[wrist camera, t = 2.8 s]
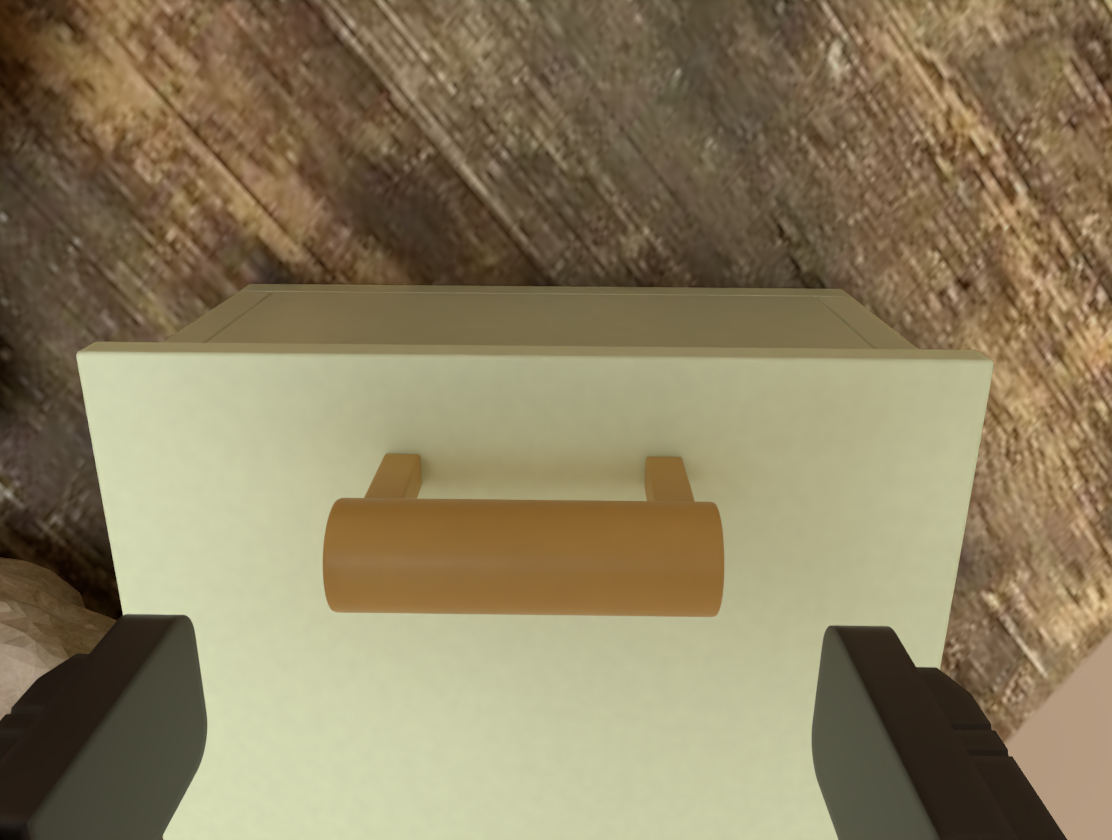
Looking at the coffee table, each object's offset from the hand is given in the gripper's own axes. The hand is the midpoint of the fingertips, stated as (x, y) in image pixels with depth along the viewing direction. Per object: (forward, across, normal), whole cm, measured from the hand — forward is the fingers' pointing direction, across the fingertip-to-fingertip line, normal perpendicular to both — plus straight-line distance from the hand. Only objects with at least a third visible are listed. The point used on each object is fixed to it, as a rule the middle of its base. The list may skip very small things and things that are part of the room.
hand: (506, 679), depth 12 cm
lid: (+7, 0, +5) cm, 9 cm away
